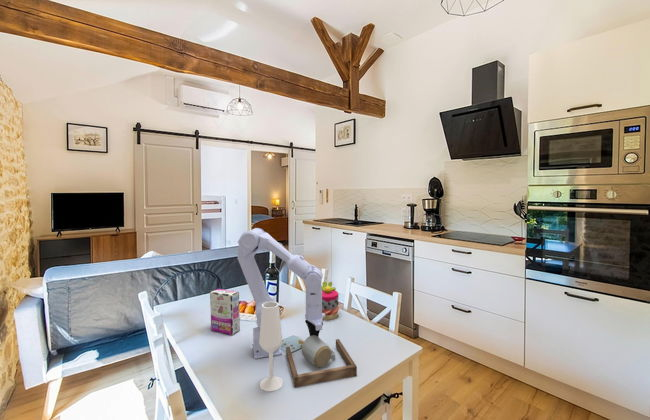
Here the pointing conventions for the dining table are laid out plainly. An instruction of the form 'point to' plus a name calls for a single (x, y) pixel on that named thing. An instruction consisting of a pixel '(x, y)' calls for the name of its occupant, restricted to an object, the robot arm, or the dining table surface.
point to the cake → (329, 302)
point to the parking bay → (323, 374)
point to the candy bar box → (225, 311)
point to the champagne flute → (270, 341)
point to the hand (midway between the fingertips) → (314, 340)
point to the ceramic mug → (317, 351)
